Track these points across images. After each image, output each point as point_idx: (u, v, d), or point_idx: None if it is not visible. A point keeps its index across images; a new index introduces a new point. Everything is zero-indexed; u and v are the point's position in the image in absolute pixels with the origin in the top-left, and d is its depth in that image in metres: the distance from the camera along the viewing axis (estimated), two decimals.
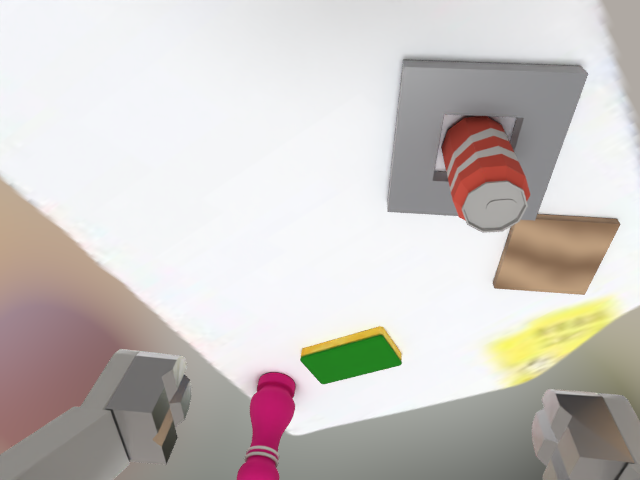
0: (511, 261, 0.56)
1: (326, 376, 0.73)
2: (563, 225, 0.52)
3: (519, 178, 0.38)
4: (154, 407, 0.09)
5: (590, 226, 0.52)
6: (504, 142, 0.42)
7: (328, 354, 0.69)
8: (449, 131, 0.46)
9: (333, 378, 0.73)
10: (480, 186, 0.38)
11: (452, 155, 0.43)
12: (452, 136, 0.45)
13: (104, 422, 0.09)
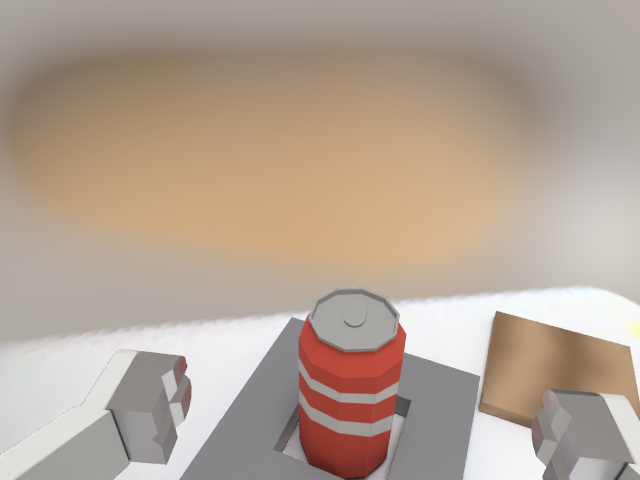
0: None
1: None
2: (497, 356, 0.39)
3: None
4: (154, 407, 0.09)
5: (499, 333, 0.41)
6: None
7: None
8: (308, 456, 0.31)
9: None
10: (311, 324, 0.26)
11: (313, 420, 0.28)
12: (308, 442, 0.30)
13: (104, 422, 0.09)
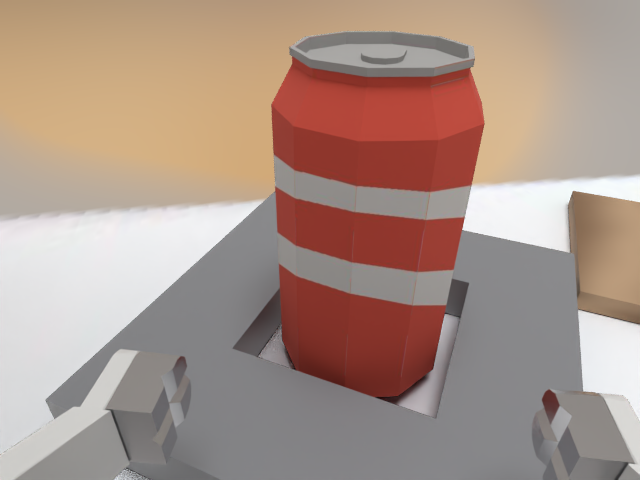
0: None
1: None
2: (589, 238, 0.25)
3: None
4: (154, 407, 0.09)
5: (584, 213, 0.27)
6: None
7: None
8: (297, 364, 0.17)
9: None
10: (296, 54, 0.13)
11: (303, 278, 0.15)
12: (295, 335, 0.17)
13: (104, 422, 0.09)
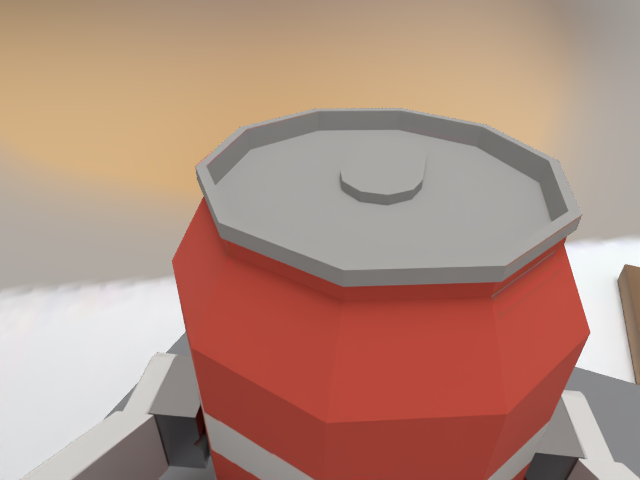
0: None
1: None
2: None
3: None
4: (197, 411, 0.09)
5: None
6: None
7: None
8: None
9: None
10: None
11: None
12: None
13: (147, 427, 0.09)
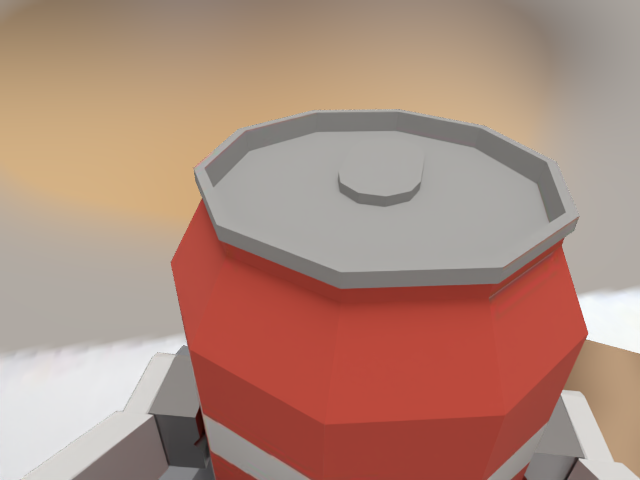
0: None
1: None
2: None
3: None
4: (197, 411, 0.09)
5: None
6: None
7: None
8: None
9: None
10: (201, 190, 0.06)
11: None
12: None
13: (147, 427, 0.09)
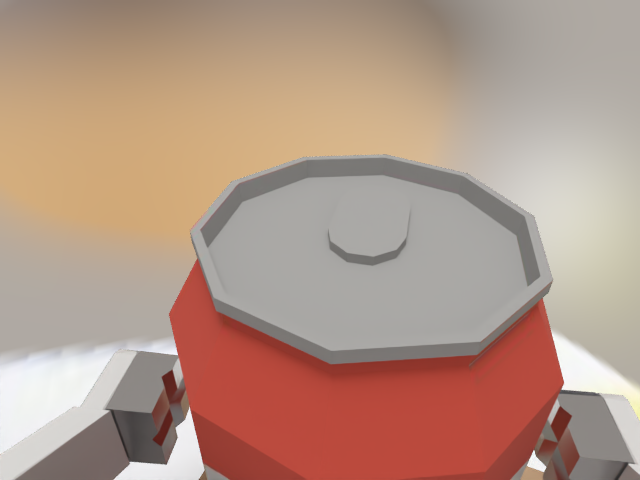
0: None
1: None
2: None
3: None
4: (154, 407, 0.09)
5: None
6: None
7: None
8: None
9: None
10: None
11: None
12: None
13: (104, 422, 0.09)
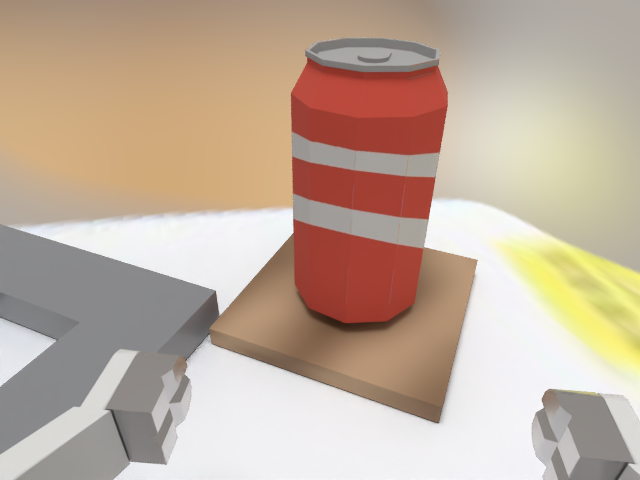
0: (342, 355, 0.21)
1: None
2: (272, 271, 0.26)
3: None
4: (154, 407, 0.09)
5: (293, 244, 0.28)
6: None
7: None
8: (307, 298, 0.22)
9: None
10: (310, 55, 0.17)
11: (314, 225, 0.20)
12: (306, 275, 0.22)
13: (104, 422, 0.09)
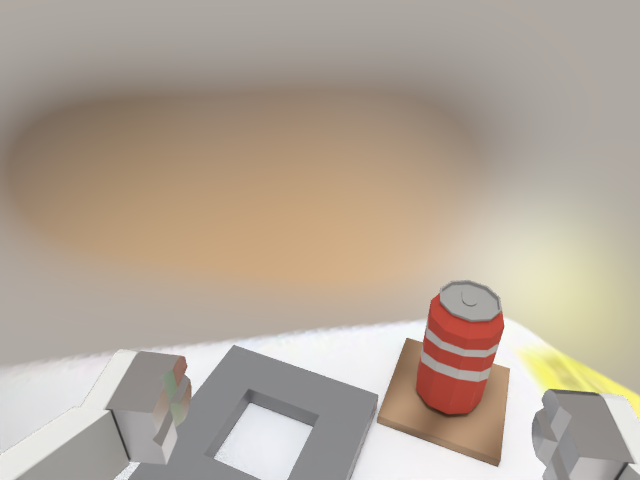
0: (448, 431, 0.42)
1: None
2: (398, 377, 0.47)
3: None
4: (154, 407, 0.09)
5: (404, 357, 0.50)
6: None
7: None
8: (427, 400, 0.44)
9: None
10: (443, 305, 0.39)
11: (438, 371, 0.41)
12: (428, 390, 0.43)
13: (104, 422, 0.09)
